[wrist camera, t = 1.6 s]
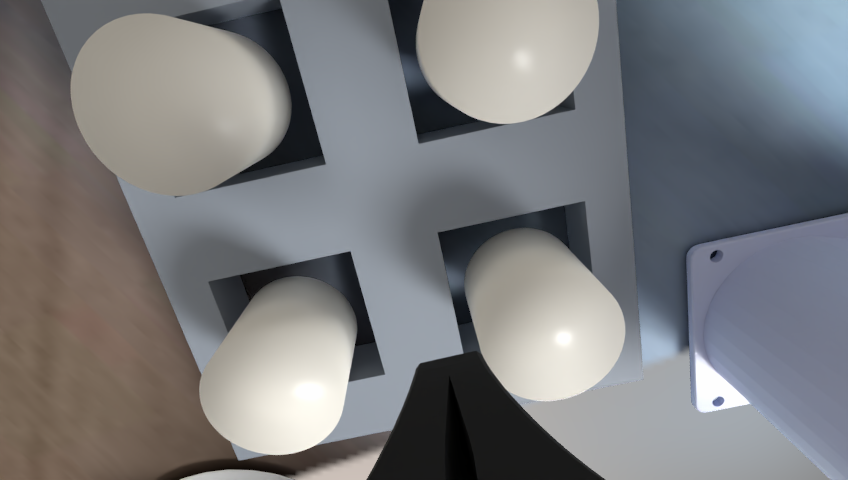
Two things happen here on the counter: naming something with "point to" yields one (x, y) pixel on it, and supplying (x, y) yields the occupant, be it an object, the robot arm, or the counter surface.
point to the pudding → (236, 475)
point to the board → (383, 195)
